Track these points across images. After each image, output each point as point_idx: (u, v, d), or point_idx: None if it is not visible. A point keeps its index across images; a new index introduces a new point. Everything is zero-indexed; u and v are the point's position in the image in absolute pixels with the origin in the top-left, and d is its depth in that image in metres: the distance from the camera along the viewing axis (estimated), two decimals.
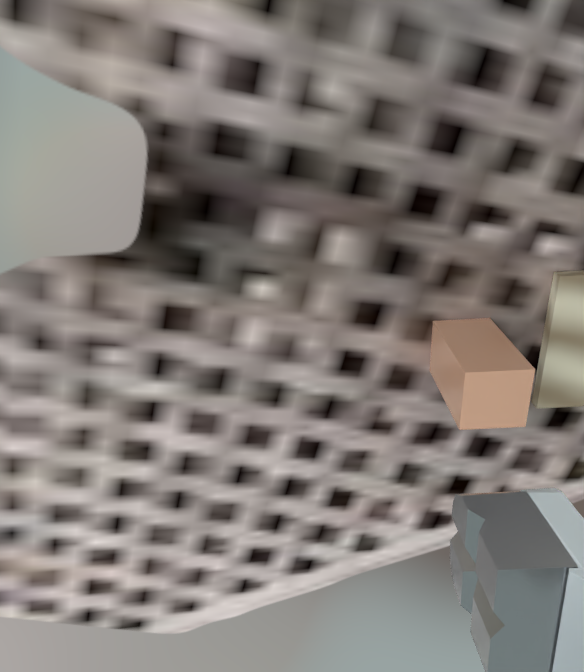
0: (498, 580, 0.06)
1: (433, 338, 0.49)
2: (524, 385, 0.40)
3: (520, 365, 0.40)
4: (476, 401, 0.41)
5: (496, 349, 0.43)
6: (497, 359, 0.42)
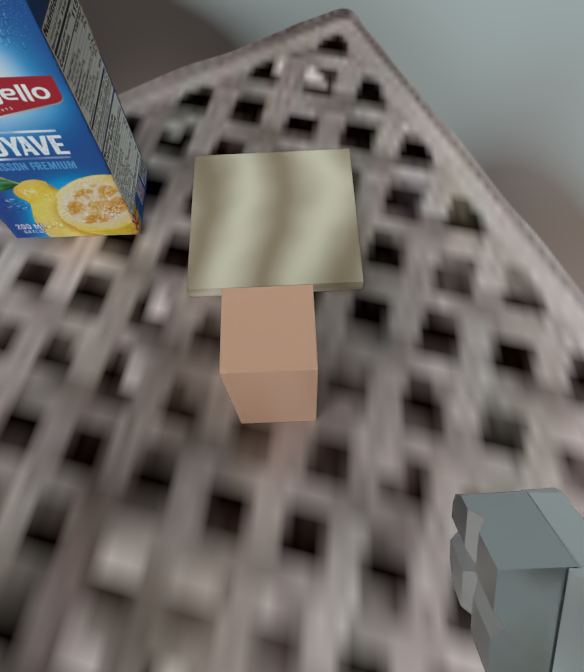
0: (498, 580, 0.06)
1: (262, 420, 0.37)
2: (246, 296, 0.30)
3: None
4: (268, 352, 0.29)
5: None
6: None
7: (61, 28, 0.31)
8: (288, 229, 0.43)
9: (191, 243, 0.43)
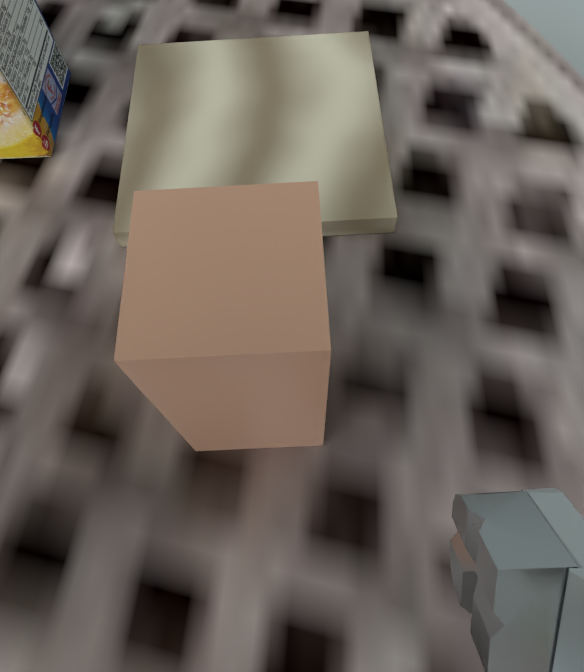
0: (498, 580, 0.06)
1: (231, 446, 0.21)
2: (182, 205, 0.15)
3: None
4: (223, 315, 0.13)
5: None
6: None
7: None
8: (276, 142, 0.27)
9: (125, 164, 0.27)
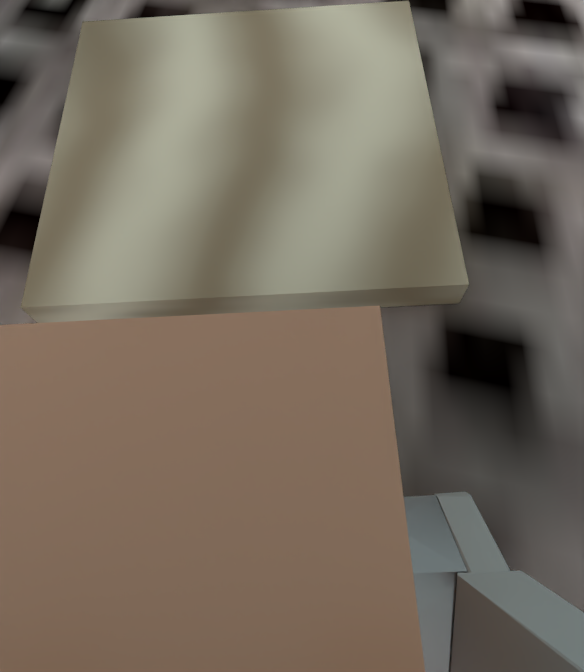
0: None
1: None
2: (18, 374, 0.06)
3: None
4: None
5: None
6: None
7: None
8: (278, 163, 0.18)
9: (49, 196, 0.18)
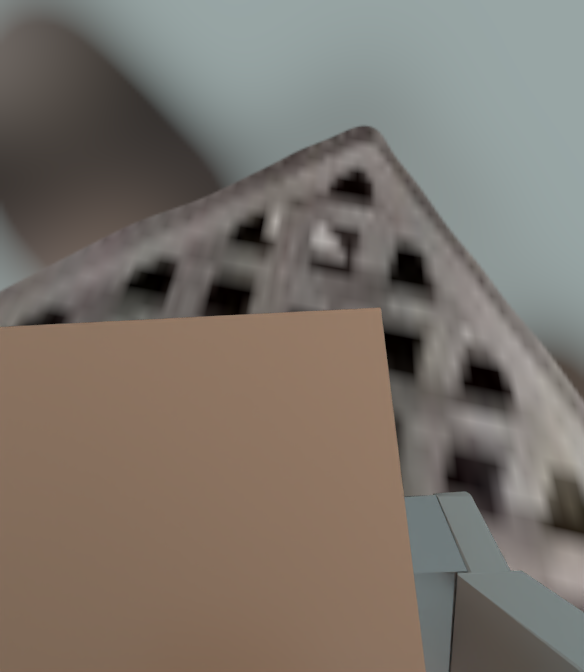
0: None
1: None
2: (17, 377, 0.06)
3: None
4: None
5: None
6: None
7: None
8: None
9: None
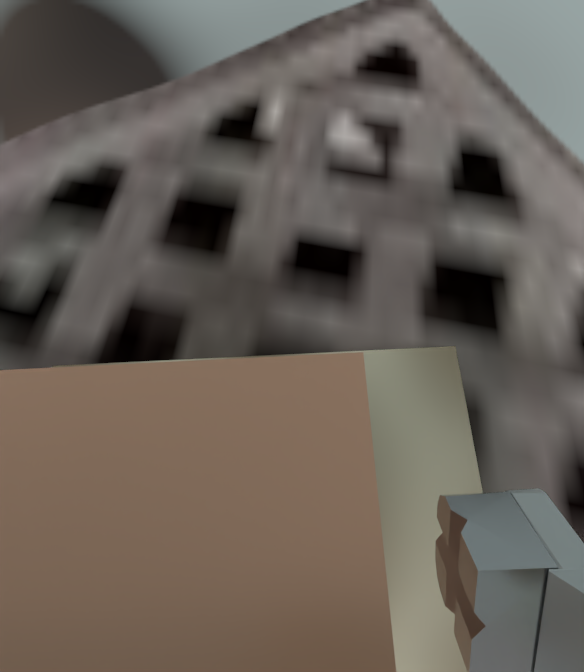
0: (478, 581, 0.06)
1: None
2: (61, 410, 0.07)
3: None
4: None
5: None
6: None
7: None
8: None
9: None
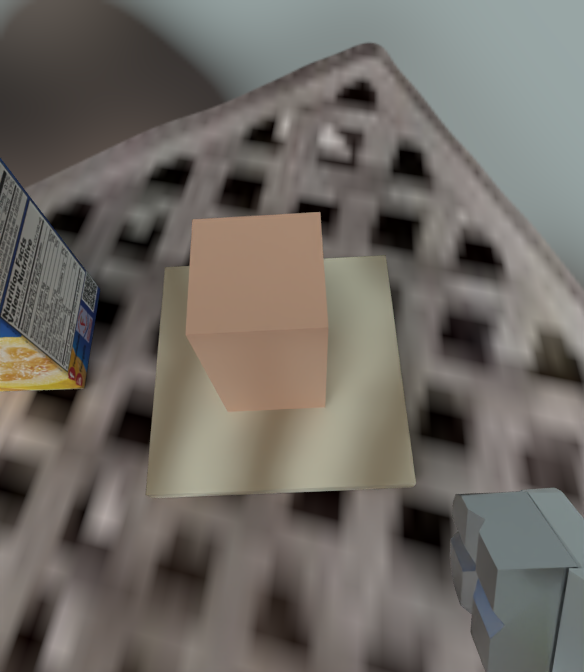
0: (498, 580, 0.06)
1: (254, 407, 0.28)
2: (225, 229, 0.21)
3: None
4: (256, 304, 0.20)
5: None
6: None
7: None
8: None
9: (155, 412, 0.29)
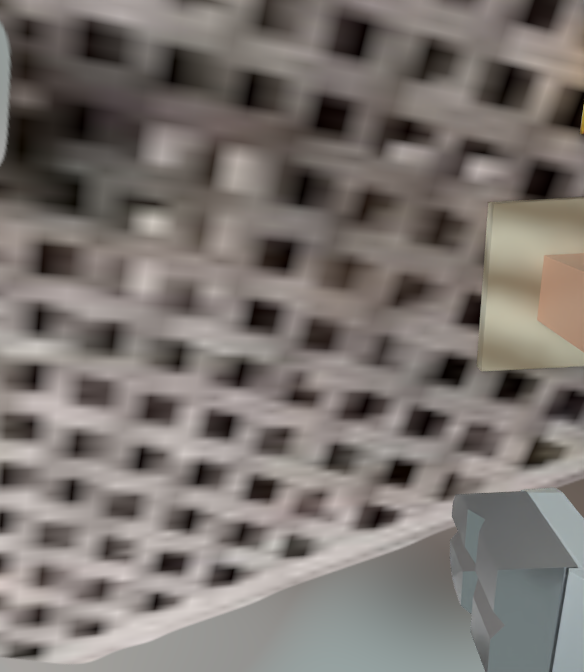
0: (498, 580, 0.06)
1: (545, 276, 0.41)
2: None
3: None
4: None
5: None
6: None
7: None
8: None
9: (552, 202, 0.39)
